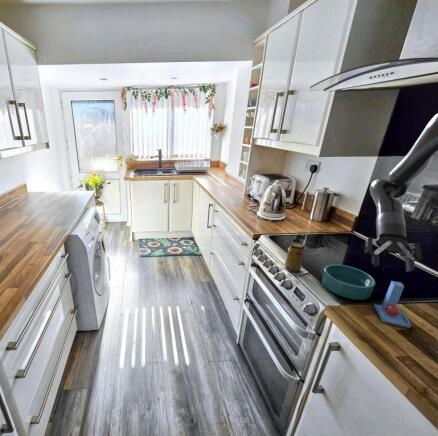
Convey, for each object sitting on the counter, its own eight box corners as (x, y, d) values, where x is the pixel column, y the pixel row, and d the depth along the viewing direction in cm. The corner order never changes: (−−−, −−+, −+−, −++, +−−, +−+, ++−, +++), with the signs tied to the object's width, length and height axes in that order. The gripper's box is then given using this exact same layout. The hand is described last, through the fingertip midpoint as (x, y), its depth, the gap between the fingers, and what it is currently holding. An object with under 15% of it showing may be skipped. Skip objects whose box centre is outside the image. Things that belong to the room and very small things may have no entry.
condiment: (291, 263, 112) (296, 240, 108) (308, 272, 105) (314, 248, 100) (279, 266, 110) (284, 243, 106) (296, 276, 102) (301, 251, 98)
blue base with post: (373, 305, 85) (383, 279, 81) (398, 310, 82) (409, 284, 78) (382, 321, 78) (393, 294, 74) (409, 328, 75) (423, 299, 71)
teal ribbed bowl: (363, 281, 97) (367, 269, 95) (376, 305, 85) (381, 291, 82) (318, 273, 104) (321, 261, 102) (324, 294, 91) (328, 281, 89)
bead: (396, 316, 80) (396, 306, 80) (401, 317, 77) (401, 307, 77) (383, 313, 81) (384, 304, 82) (388, 314, 78) (388, 304, 79)
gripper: (370, 219, 88) (371, 261, 82) (423, 225, 82) (428, 270, 76) (361, 227, 94) (362, 267, 89) (410, 233, 88) (414, 275, 83)
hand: (392, 268), depth 83 cm, fingers open, 8 cm apart
